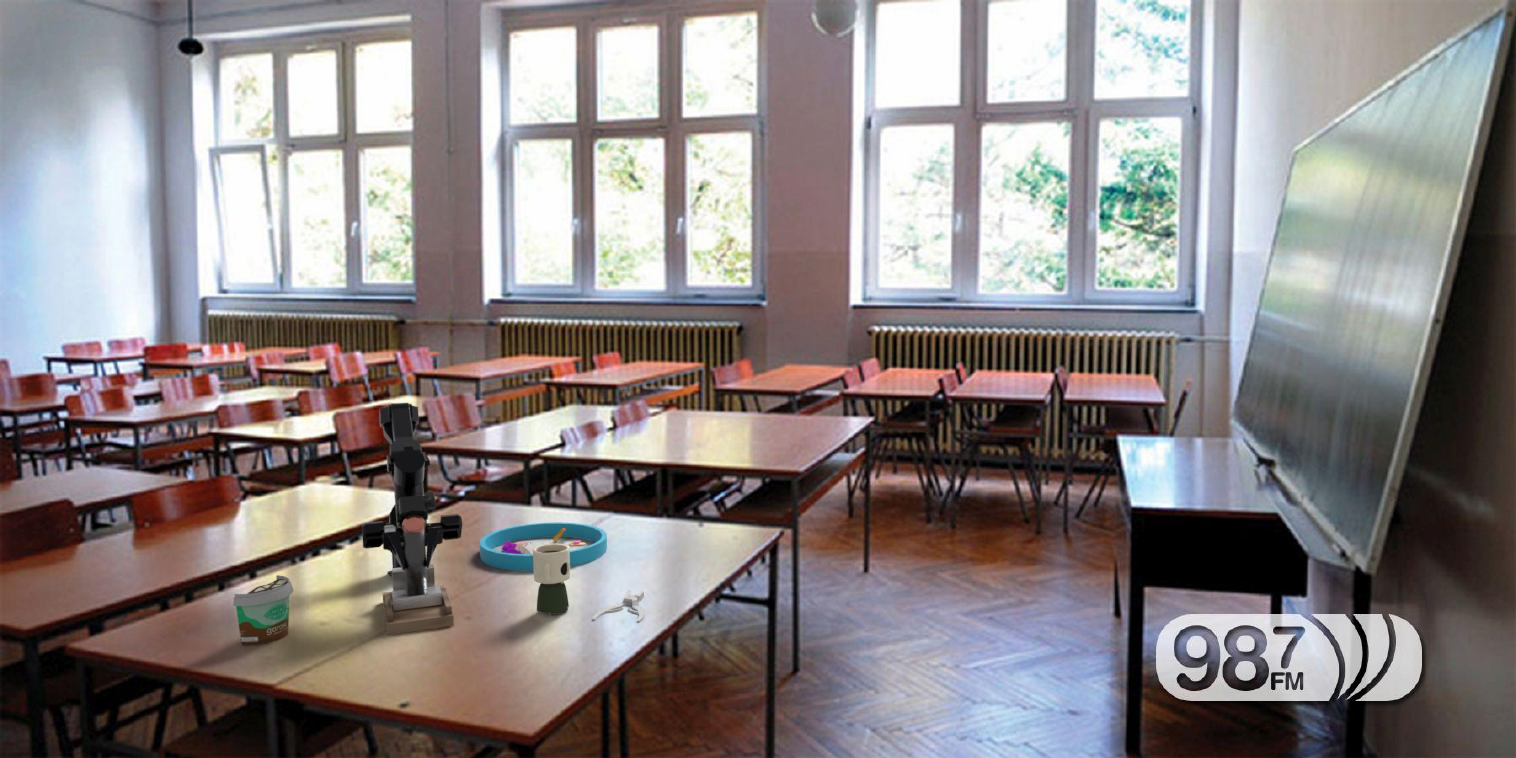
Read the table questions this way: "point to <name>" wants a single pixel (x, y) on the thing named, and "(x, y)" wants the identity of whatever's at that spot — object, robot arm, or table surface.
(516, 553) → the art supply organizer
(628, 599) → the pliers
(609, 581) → the table surface
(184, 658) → the table surface
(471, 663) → the table surface
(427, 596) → the handle
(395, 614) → the board
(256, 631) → the food container
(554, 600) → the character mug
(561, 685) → the table surface
